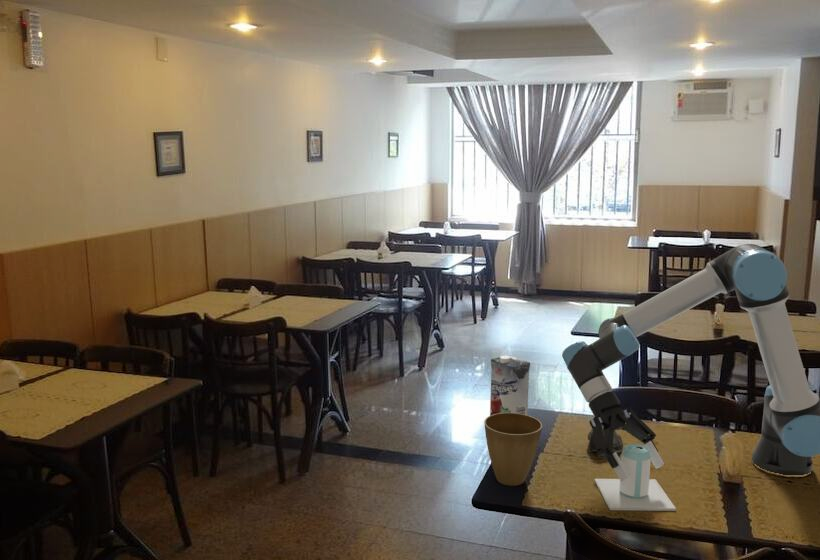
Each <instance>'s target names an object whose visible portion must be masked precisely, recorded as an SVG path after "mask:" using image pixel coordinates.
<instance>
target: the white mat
mask: <svg viewBox="0 0 820 560" xmlns="http://www.w3.org/2000/svg"><path fill="white" fill-rule="evenodd" d="M594 482H595V484H596V486H597V488H598V490H599V492H600V493H601V495H602V498H603V500H604V502H605V504H606V506H607V507H608V510H609V511H646V512H647V511H650V512H652V511H654V512H655V511H656V512H657V511H658V512H659V511H663V512H664V511H665V512H667V511H669V512H671V511H672V512H675V511H676V512H677V508H676V506H675V505H674V503H673V502H672V501H671V499H670V498H669V497H668V495H667V493H666V492H665V491H664V490H663V488H662V486H661V485H660V484H659V482H658V481H657V479H656V478H655V479H654V478H649V491H648V494H647V495H646V496H644V497H641V498H632V497H629V496H626V495H625V494H623V493H622V492H621V491H620V489H619V488H620V479H619V478H594Z"/></svg>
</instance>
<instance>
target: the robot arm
mask: <svg viewBox="0 0 820 560" xmlns="http://www.w3.org/2000/svg"><path fill="white" fill-rule="evenodd" d="M787 281H788V272H787V268H786V266H785V264H784V262H783V261H782V259H781V258H780V257H779V256H778V255H776V254H775V253H773V252H772V251H770V250H767V249H765V248H764V247H762V246H761V245H759V244H753V243H746V244H741V245H740V244H739V245H738V246H734V247H733V248H731V249H729V250H727V251H726V252H724V253H722V254H721V255H718V256H717V257H716V258H713V259H712V260H710V261H709V262H707V263H706V266H705V268H703V269H702V270H699V271H698V272H697V273H695V274H693V275H691V276H689V277H686V279H684V280H682V281H680V282H678V283H676V284H675V285H673V286H671V287H669V288H667V289H666V290H664V291H661V292H660V293H658V294H656V295H654V296H653V297H651V298H649V299H647V300H644V301H643V302H641V303H639V304H638V305H636V306H634V307H633V308H630V309H629V310H627V311H625V312H623V313H622V314H620V315H618V316H616V317H610V318H609V317H608V318H606V319H605V320H603V321H602V322H601V323H600V325H599V329H598V332H597V333H598V334H597V335H598V339H596V340H595V341H594V342H592V343H590V344H587V342H585V341H583V340H582V341H581V340H580V341H576V342H575V343H572V344H570V345H569V346H567V347H566V348H565V349H564V350H563V351H562V354H561V356H562V360H563V361H564V364H565V366H566V369H567V370H568V371H569V373H570V375H571V377H572V379H573V381H574V382H575V384H576V385H577V387H578V389H579V391H580V392H581V394H582V396H583V398H584V400H585V402H586V403H588V407H589V410H590V411H591V413H592V414H593V416H594V417H593V418H592V419H590V420H589V421H588V422H589V425H590V427H591V430H592V429H593V435H594V441H595V447H596V451H595V452H596V453H595V454H596V456H597V457H601V458H602V459H606V460H607V462H608V463H609V465H610V468H611V469H613V470H614V472H615V474H616V476H617V477H618V479H620V481H623V480H625V479H626V478H628V477H629V475H628V473H627V471H626V469H625V467H624V466H623V464H622V462H621V459H620V456H619V455H618V454H617V453H616V452H615V453H613V432H614V431H619V430H622V431H626V433H628V434H630V435H631V436H632V437H634V438H635V439H637V440H638V441H640V442H641V443H642V445H643V446H645V447H647V448H648V449H649V451H648V452H649V453H650V455H651V464H653V466H654V468H655V470H657V469H659V468H661V467H663V466H664V465H665V462H664V460H663V459H662V457H661V455H660V454H659V449H658V448H657V446H656V444H655V443H654V440H655V437H656V436H657V435H656V433H655V432H654V431H653V430H652V429H651V428H650V427H649V426H648V425H647V424H646V423H645V422H644V421H643V419H641V418H640V417H638V415H636V413H635V411H634V410H633V409H632V408H631V407H630V406H628V407H627V408H625V409H624V410H623V409H622V408H621V407H620V406H621V402H620V400H619V398H618V396H617V395H616V393H615V392H614V391H613V388H612V386H611V384H610V383H609V380H608V379H607V378H606V376H605V374H604V372H603V371H604V370H605V369H608V368H609V367H611V366H613V365H615V364H616V363H618V362H620V361H622V360H624V359H626V358H627V357H630V356H632V355H633V354H634V353H636V352H637V351H638V350H640V348H641V346H640V345H641V344H640V342H639V340H638V339H637V338H638V337H639V336H642V335H643V334H646V333H647V332H649V331H652V329H654V328H656V327H658V326H660V325H662V324H664V323H666V322H669V321H670V320H672V319H673V318H675V317H677V316H679V315H681V314H683V313H685V312H687V311H688V310H691V309H692V308H694V307H697V306H698V305H700V304H702V303H703V302H705V301H708V300H710V299H712V298H713V297H716V296H717V295H719V294H724V295H726V294H729V293H731V292H733V291H735V294H736V298H737V301H738V304H739V307H740V308H741V309H742V310H745V311H747V313H748V316H749V319H750V321H751V326H752V328H753V329H752V330H753V332H754V335H755V339H756V342H757V346H758V348H759V349H758V350H759V353H760V357H761V359H762V362H763V366H764V370H765V373H766V376H767V379H768V380H767V381H768V382H769V385H767V387H766V389H765V393H764V395H763V396H764V400H763V401H764V403H763V410H762V411H763V415H762V421H761V422H762V423H761V432H760V437H759V439H758V441H757V444H756V446H755V447H754V449H753V451H752V455H751V462H752V461H753V463H754V464H756V465H757V466H759V467H760V468H762V469H765V470H767V471H770V472H774V473H779V474H783V475H804V474H808V473H810V472H811V471H812V472H813V467H814V463H813V459H812V457H816V456H819V455H820V397H819V395H818V394H817V393H815V392H814V391H813V390H812V389H810V386H809V383H808V379H807V376H806V372H805V369H804V364H803V362H802V358H801V355H800V352H799V348H798V344H797V341H796V340H797V339H796V337H795V334H794V330H793V327H792V323H791V321H790V317H789V314H788V309H787V306H786V302H787V300H788V299H789V297H790V293H789V289H788V286H787ZM602 425H603V429H602ZM603 434H604V435H603ZM612 453H613V454H612Z"/></svg>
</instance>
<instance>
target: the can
mask: <svg viewBox="0 0 820 560" xmlns="http://www.w3.org/2000/svg"><path fill="white" fill-rule="evenodd" d="M643 445H644V444H638V443H631V444H627V445H625V446H624V448H623V449H622V451H621V459H620V460H621V462H622V464H623V466H624V467H625V469H626V471H627V473H628V475H629V477H628V478H626V479H625V480H623V481H620V488H619V489H620V491H621V492H622V493H623V494H625V495H626V496H629V497H632V498H641V497H644V496H646V495H647V494H648V491H649V479H650V477H651V475H650V474H651V464H652V461H651V455H650V453H649V452H648V451H649V449H648V448H647V447H645V446H643Z"/></svg>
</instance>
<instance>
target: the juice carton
mask: <svg viewBox="0 0 820 560" xmlns="http://www.w3.org/2000/svg"><path fill="white" fill-rule="evenodd" d="M530 369H531V363H530V362H529V361H527V360H522V359H520V358H518V357H515V356H514V355H501V356H499V357H494V358H490V406H489V407H490V408H489V416H491V415H493V414H497V413H519V414H525V415H528V411H529V410H528V409H529V407H528V406H529V387H530V386H529V385H530V384H529V380H530Z"/></svg>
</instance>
